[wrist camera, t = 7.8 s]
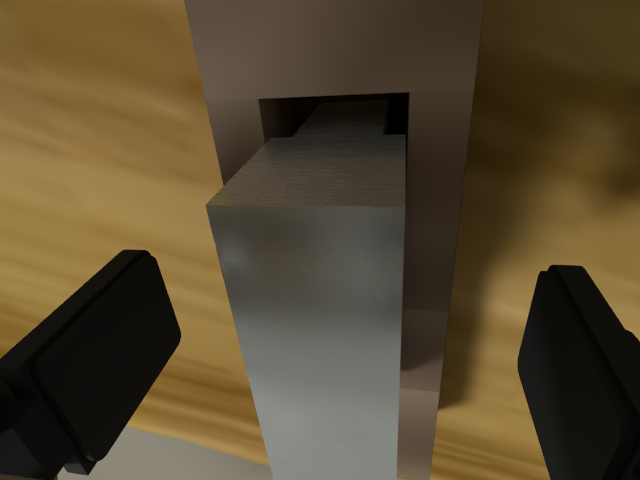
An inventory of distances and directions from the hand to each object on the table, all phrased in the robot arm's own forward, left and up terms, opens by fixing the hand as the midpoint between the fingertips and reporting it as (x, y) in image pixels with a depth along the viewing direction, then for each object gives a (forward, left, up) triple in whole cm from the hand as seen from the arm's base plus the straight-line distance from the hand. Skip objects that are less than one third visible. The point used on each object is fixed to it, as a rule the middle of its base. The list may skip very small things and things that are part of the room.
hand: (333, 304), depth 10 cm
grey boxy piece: (0, 0, -4) cm, 5 cm away
